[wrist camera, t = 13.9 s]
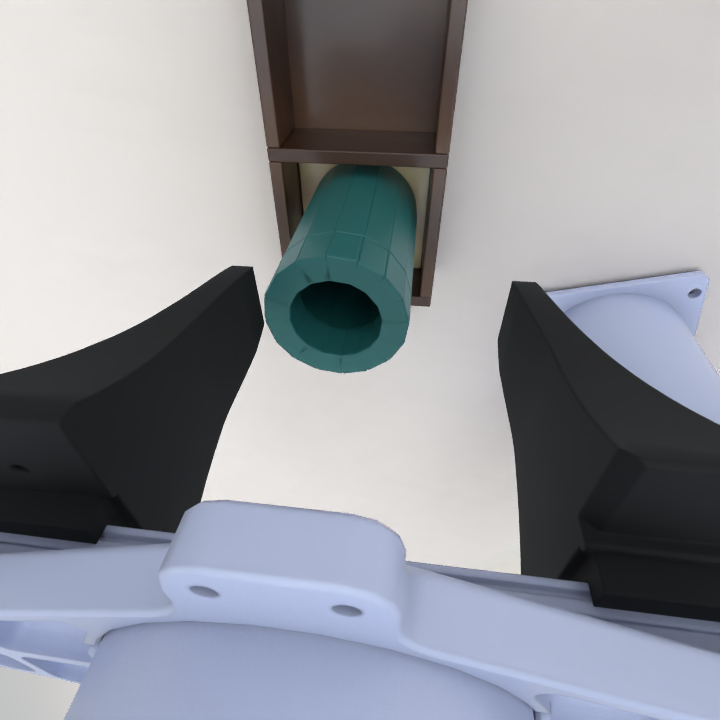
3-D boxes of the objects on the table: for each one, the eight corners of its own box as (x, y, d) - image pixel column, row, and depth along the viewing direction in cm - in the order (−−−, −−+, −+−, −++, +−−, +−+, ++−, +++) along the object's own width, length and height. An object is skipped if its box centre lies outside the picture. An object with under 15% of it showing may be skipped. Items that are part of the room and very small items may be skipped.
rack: (430, 271, 23) (429, 307, 20) (301, 263, 23) (287, 297, 21) (519, -482, 10) (542, -602, 8) (225, -454, 10) (168, -559, 8)
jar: (425, 247, 21) (420, 365, 15) (332, 264, 22) (294, 379, 16) (404, 145, 18) (389, 243, 12) (299, 171, 19) (239, 271, 13)
